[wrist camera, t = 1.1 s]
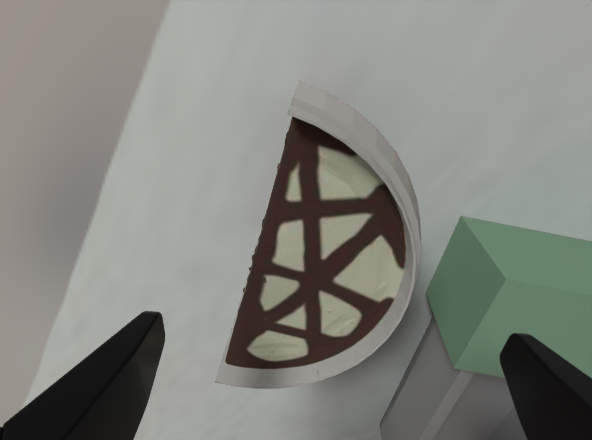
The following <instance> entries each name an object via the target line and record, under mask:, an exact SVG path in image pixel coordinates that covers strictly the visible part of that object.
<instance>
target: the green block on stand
mask: <svg viewBox="0 0 592 440" xmlns="http://www.w3.org/2000/svg"><path fill="white" fill-rule="evenodd" d="M426 296H427V298H428V301H429V304H430V306H431V309H432V312H433V314H434V316H433V318H432V320H431V322H430V324H429V326H428V328H427V330H426V332H425V334H424V336H423V338H422V340H421V342H420V344H419V346H418V348H417V350H416V352H415V354H414V356H413V358H412V360H411V362H410V364H409V366H408V368H407V370H406V372H405V374H404V376H403V379H402V381H401V383H400V385H399V387H398V389H397V391H396V393H395V395H394V397H393V399H392V401H391V403H390V405H389V407H388V409H387V411H386V413H385V415H384V417H383V419H382V421H381V423H380V428H381V436H382V440H527V438H526V435H525V433H524V431H523V428H522V426H521V423H520V421H519V418H518V415H517V413H516V410H515V407H514V404H513V401H512V398H511V395H510V392H509V389H508V385H507V382H506V379H505V376H504V373H503V370H502V367H501V364H500V353H501V351H502V349H503V347H504V345H505V343H506V341H507V340H508V338H509V336H510V335H511V334H513V333H525V334H530V335H532V336H533V337H535V338H536V339H538V340H539V341H540V342H542V343H543V344H544V345H546V346H547V347H549V348H550V349H551V350H553V351H554V352H556V353H557V354H558V355H560V356H561V357H563V358H564V359H565V360H567V361H568V362H570V363H571V364H572V365H574V366H575V367H577V368H578V369H579V370H581V371H582V372H583V373H585V374H586V375H588V376H589V377H590V378H592V242H590V241H585V240H580V239H575V238H570V237H565V236H560V235H554V234H549V233H544V232H539V231H534V230H529V229H524V228H519V227H513V226H508V225H503V224H498V223H493V222H488V221H483V220H477V219H472V218H467V217H462V216H461V218H460V220H459V222H458V224H457V226H456V228H455V231H454V233H453V235H452V237H451V239H450V241H449V244H448V246H447V248H446V250H445V252H444V254H443V257H442V259H441V261H440V263H439V265H438V267H437V270H436V272H435V274H434V276H433V278H432V281H431V283H430V285H429V287H428V289H427V291H426Z"/></svg>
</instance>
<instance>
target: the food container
mask: <svg viewBox="0 0 592 440" xmlns="http://www.w3.org/2000/svg"><path fill="white" fill-rule="evenodd" d="M288 115H291V116H293V117H292V120H291V124H290V127H289V131H288V132H287V134H286V139H285V146H284V150H283V154H282V157H281V161H280V163H279V164H278V167H277V168H278V170H277V175H276V179H275V182H274V186H273V189H272V193H271V197H270V201H269V205H268V209H267V211H266V215H265V218H264V219H263V222H262V231H261V234H260V236H259V239H258V241H259V242H258V245H257V246H256V249H255V254H254V255H253V256H252V266H251V267H250V268H249V270H250V273H249V276H248V278H247V283H246V286H245V288H244V289H243V295H242V298H241V301H240V305H239V308H238V311H237V314H236V317H235V320H234V323H233V327H232V330H231V333H230V336H229V339H228V342H227V345H226V349H225V352H224V355H223V358H222V361H221V364H220V367H219V371H218V374H217V377H216V380H215V382H216V383H221V384H226V385H231V386H236V387H246V388H286V387H295V386H301V385H305V384H310V383H314V382H318V381H321V380H324V379H327V378H330V377H332V376H335V375H338V374H340V373H342V372H344V371H346V370H348V369H350V368H352V367H354V366H355V365H357V364H359V363H360V362H361V361H363V360H364V359H366V358H367V357H368V356H370V355H371V354H373V353H374V352H375V351H376V350H377V349H378V348H379V347H380V346H381V345H382V344H383V343H384V342H385V341H386V340H387V339H388V338H389V337H390V335H391V334H392V332H393V331H394V330H395V328H396V327H397V325H398V324H399V323H400V321H401V319H402V317H403V315H404V313H405V311H406V309H407V306H408V304H409V302H410V298H411V296H412V294H413V292H414V289H415V285H416V281H417V277H418V273H419V269H420V254H421V230H420V218H419V211H418V203H417V198H416V195H415V192H414V189H413V186H412V183H411V180H410V177H409V175H408V173H407V171H406V169H405V167H404V166H403V164H402V162H401V160H400V158H399V157H398V155H397V153H396V151H395V150H394V149H393V147H392V146H391V145H390V144H389V143H388V141H387V140H386V139H385V138H384V136H383V135H382V134H381V133H380V131H379V130H378V129H377V128H376V127H375V126H374V125H373V124H371V123H370V122H369V121H368V120H367V119H366V118H365V117H363V116H362V115H361V114H360V113H359V112H358V111H357V110H355V109H354V108H353V107H351V106H350V105H348V104H346V103H345V102H343V101H341V100H340V99H338V98H337V97H335V96H333V95H332V94H330V93H328V92H327V91H324V90H322V89H320V88H317V87H315V86H312V85H310V84H308V83H305V82H303V81H299V83H298V86H297V88H296V91H295V94H294V96H293V100H292V103H291V106H290V108H289V111H288Z"/></svg>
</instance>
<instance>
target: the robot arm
mask: <svg viewBox="0 0 592 440" xmlns="http://www.w3.org/2000/svg"><path fill="white" fill-rule="evenodd" d="M164 343H165V330H164V324H163V318H162V314H161V313H160V312H153V311H144V312H142V313H141V314H140V315H138V316H137V317H136V318H135V319H133V320H132V321H131V322H130V323H128V324H127V325H126V326H125V327H123V328H122V329H121V330H120V331H118V332H117V333H116V334H115V335H113V336H112V337H111V338H110V339H108V340H107V341H106V342H105V343H104V344H102V345H101V346H100V347H99V348H97V349H96V350H95V351H94V352H92V353H91V354H90V355H89V356H87V357H86V358H85V359H84V360H82V361H81V362H80V363H79V364H77V365H76V366H75V367H74V368H72V369H71V370H70V371H69V372H68V373H66V374H65V375H64V376H63V377H61V378H60V379H59V380H58V381H56V382H55V383H54V384H53V385H51V386H50V387H49V388H48V389H46V390H45V391H44V392H43V393H41V394H40V395H39V396H38V397H36V398H35V399H34V400H33V401H32V402H30V403H29V404H28V405H27V406H25V407H24V408H23V409H22V410H20V411H19V412H18V413H17V414H15V415H14V416H13V417H12V418H10V419H9V420H8V421H7V422H5V423H4V425H3V427H0V440H133V439H134V437H135V434H136V432H137V429H138V427H139V424H140V422H141V419H142V417H143V414H144V411H145V409H146V406H147V403H148V400H149V397H150V393H151V390H152V386H153V382H154V379H155V375H156V372H157V368H158V365H159V361H160V357H161V354H162V350H163V347H164ZM500 364H501V367H502V370H503V373H504V376H505V379H506V382H507V385H508V389H509V392H510V395H511V398H512V401H513V404H514V407H515V410H516V413H517V415H518V418H519V421H520V423H521V426H522V428H523V431H524V433H525V435H526V438H527V440H592V378H590V377H589V376H588V375H586V374H585V373H583V372H582V371H581V370H579V369H578V368H577V367H575V366H574V365H572V364H571V363H570V362H568V361H567V360H565V359H564V358H563V357H561V356H560V355H558V354H557V353H556V352H554V351H553V350H551V349H550V348H549V347H547V346H546V345H544V344H543V343H542V342H540V341H539V340H538V339H536V338H535V337H533V336H532V335H530V334H525V333H513V334H511V335H510V336H509V338H508V340H507V341H506V343H505V345H504V347H503V349H502V351H501V353H500Z"/></svg>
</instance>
